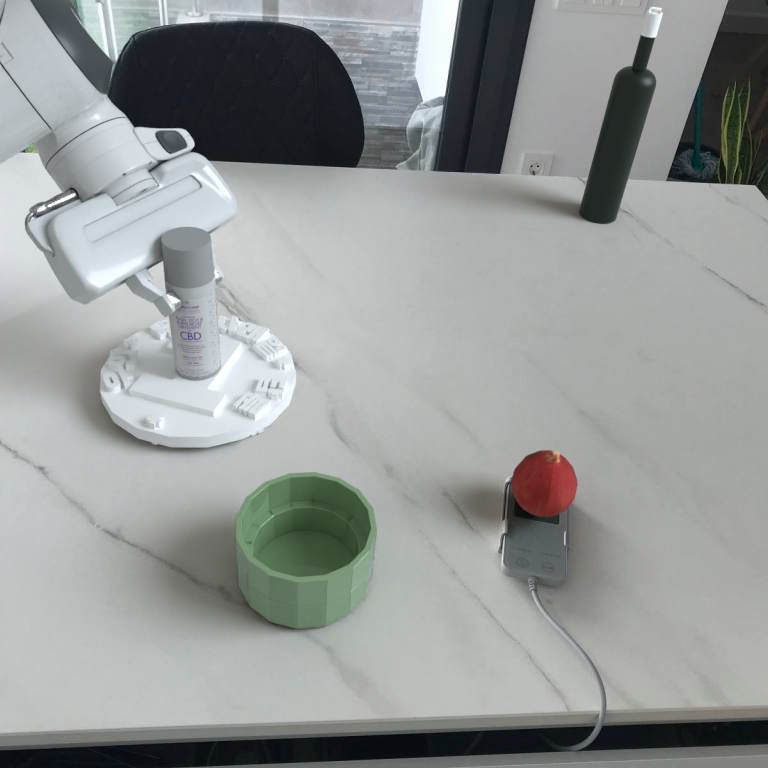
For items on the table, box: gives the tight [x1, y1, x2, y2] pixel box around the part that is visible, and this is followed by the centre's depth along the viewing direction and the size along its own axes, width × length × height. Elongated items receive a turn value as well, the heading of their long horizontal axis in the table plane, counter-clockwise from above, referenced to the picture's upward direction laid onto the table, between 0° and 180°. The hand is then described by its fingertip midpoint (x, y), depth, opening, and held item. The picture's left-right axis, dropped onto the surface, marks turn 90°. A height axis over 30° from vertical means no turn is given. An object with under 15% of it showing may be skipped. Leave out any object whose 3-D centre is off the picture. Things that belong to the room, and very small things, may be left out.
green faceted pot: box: [235, 471, 378, 630], centre depth 63 cm, size 11×11×6 cm
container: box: [161, 227, 221, 380], centre depth 76 cm, size 5×5×15 cm
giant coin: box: [99, 315, 297, 448], centre depth 81 cm, size 20×20×3 cm
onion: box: [511, 449, 579, 518], centre depth 70 cm, size 6×6×8 cm
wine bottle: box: [578, 5, 664, 224], centre depth 111 cm, size 6×6×30 cm
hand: (196, 297), depth 75 cm, fingers closed on container, 5 cm apart
